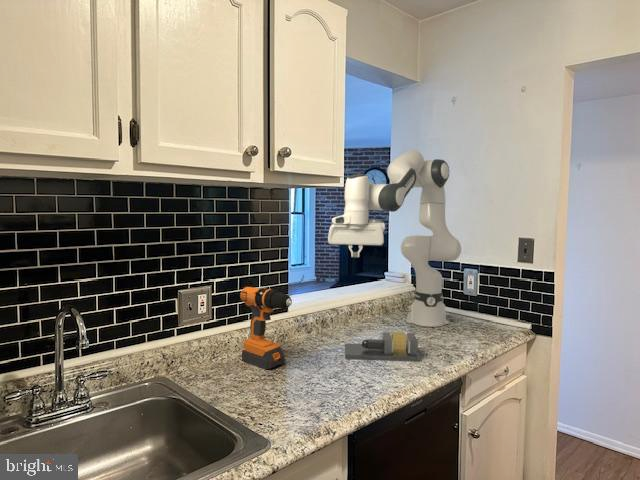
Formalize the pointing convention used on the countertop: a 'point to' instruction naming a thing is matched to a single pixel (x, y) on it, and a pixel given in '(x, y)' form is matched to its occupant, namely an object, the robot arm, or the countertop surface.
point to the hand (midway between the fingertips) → (355, 257)
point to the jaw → (380, 343)
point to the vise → (378, 354)
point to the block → (399, 342)
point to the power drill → (262, 326)
